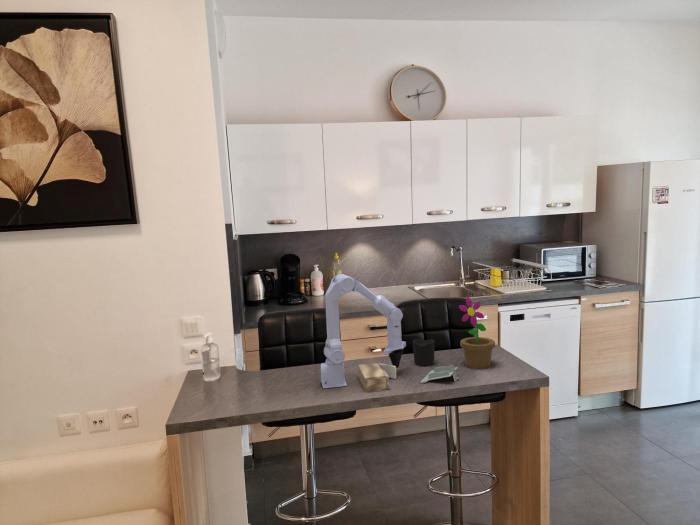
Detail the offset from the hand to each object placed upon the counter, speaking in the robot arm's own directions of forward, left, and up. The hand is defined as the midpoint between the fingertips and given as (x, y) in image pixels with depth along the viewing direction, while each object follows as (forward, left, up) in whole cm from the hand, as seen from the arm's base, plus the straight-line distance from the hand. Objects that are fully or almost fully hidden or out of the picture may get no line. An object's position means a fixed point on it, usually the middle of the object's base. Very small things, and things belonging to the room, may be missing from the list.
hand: (395, 367), depth 200 cm
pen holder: (+15, +10, -3) cm, 18 cm away
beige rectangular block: (-12, -8, -3) cm, 15 cm away
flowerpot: (+36, +1, -3) cm, 36 cm away
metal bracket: (+16, -10, -4) cm, 19 cm away
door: (-4, -3, -3) cm, 6 cm away
